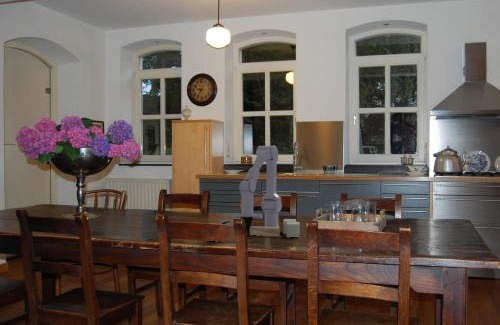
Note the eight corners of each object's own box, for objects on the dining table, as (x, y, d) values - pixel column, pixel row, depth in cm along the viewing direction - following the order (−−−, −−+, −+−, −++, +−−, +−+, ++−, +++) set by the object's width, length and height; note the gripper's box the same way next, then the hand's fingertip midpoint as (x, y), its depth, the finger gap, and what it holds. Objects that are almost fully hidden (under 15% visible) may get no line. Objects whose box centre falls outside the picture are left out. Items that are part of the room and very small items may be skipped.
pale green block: (284, 231, 248) (284, 218, 247) (295, 231, 247) (295, 219, 247) (283, 233, 240) (283, 221, 239) (295, 234, 239) (295, 221, 239)
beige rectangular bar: (251, 234, 238) (251, 226, 238) (279, 235, 236) (279, 226, 236) (250, 235, 234) (250, 227, 234) (279, 236, 232) (279, 228, 232)
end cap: (287, 234, 237) (287, 221, 237) (299, 234, 237) (299, 221, 237) (286, 237, 229) (286, 224, 229) (299, 237, 229) (299, 224, 229)
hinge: (223, 236, 232) (230, 217, 231) (232, 240, 231) (238, 221, 229) (206, 242, 217) (212, 221, 216) (214, 246, 215) (221, 226, 214)
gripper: (231, 205, 232) (231, 234, 233) (261, 206, 231) (261, 234, 231) (233, 204, 239) (233, 231, 240) (262, 204, 238) (262, 232, 238)
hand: (247, 232), depth 236 cm, fingers closed
